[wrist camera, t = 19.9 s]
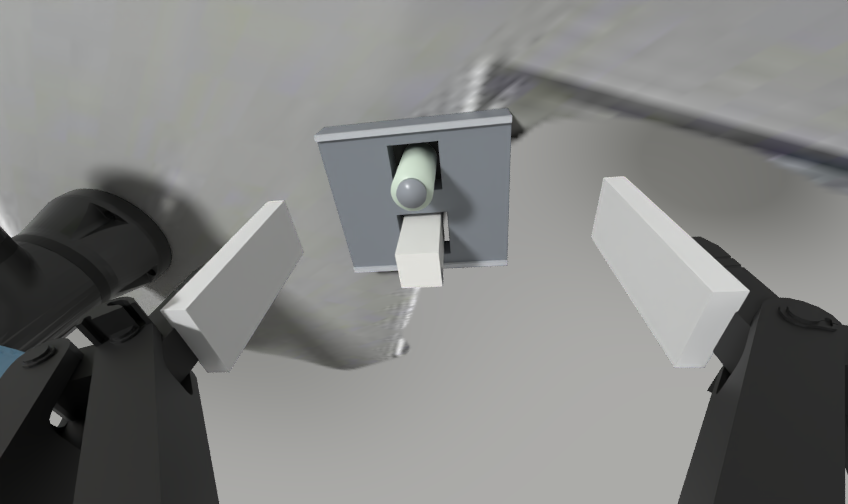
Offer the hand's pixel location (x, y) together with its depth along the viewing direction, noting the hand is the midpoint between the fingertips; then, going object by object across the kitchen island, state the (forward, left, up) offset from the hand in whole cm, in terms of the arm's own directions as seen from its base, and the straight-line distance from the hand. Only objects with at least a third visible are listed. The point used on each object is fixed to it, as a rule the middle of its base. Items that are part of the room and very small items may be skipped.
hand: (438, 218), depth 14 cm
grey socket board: (-4, -11, -25) cm, 28 cm away
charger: (-4, -15, -25) cm, 29 cm away
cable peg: (-4, -6, -25) cm, 26 cm away
